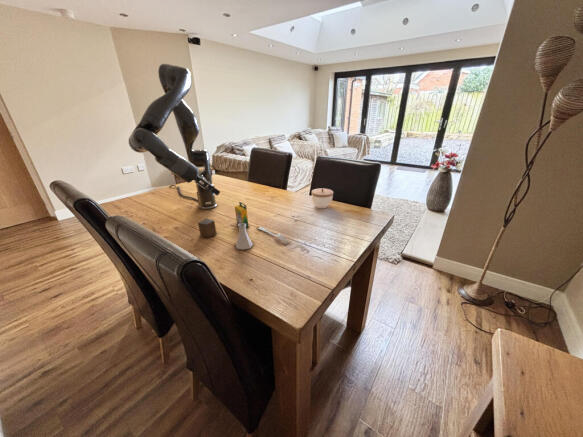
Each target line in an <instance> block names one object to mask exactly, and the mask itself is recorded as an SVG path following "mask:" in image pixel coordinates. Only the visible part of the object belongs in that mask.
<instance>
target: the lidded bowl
mask: <svg viewBox="0 0 583 437" xmlns="http://www.w3.org/2000/svg"><path fill="white" fill-rule="evenodd" d="M333 198H334V191H333V190H332V189H330V188H323V187H322V188H315V189H312V190H311V202H312V204H313V205H314V206H315V207H316V208H317V209H327V208H328V207H329V206H330V205H331V203H332V201H333Z"/></svg>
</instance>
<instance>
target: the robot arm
mask: <svg viewBox="0 0 583 437" xmlns="http://www.w3.org/2000/svg"><path fill="white" fill-rule="evenodd" d="M157 73H158V79H159V82H160V85H161V87H162V90H163V92H164V94H162V95H161V96H158V97H157V98H156V99H154V100H153V101H152V102H151V103H149V105H148V106H147V107H146V109H145V111H144V113H143V115H142V116H141V119H140V121H139V123H138V124H137V125H136V126H135V127H134V129H133V131H132V132H131V133H130V135H129V137H128V146H129V147H130V149H131V150H132V151H134V152H135V153H138V154H144V153H147V152H148V153H150V154H151V155H152V156H153V157H154V160H155V162H156V163H158V164H159V165H161V166H162V167H163V168H165V169H167V171H169V172H171V173H172V174H173V175H175V176H177V177H178V178H180V179H181V180H183V181H185V182H186V183H187V184H189V183H192V182H194V183H195V186H196V196H197V198H195V197H192V196H187V195H184V194H182V193H181V190H180V189H181V188H180V187H179V186H177V185H176V184H170V185H169V188H171V187H175V188H177V189H178V190H177V191H178V194H179V195H180V196H181V197H183V198H187V199H191V200H193V201H195V202H198V207H199V208H200V209H202V210H211V209H215V208H216V207H217V201H216V196H219V195H220V194H221V191H220V190H219V189H218V188H216V186H215V185H214V183H213V182H214V180H213V176H212V169H211V161H210V153H209V151H208V150H207V149H193V147H194V144H195V142H196V140H197V138H198V136H199V133H200V127H199V122H198V120H197V116H196V115H195V113H194V112H193V111H192V109H191V108H190V107H189V105H187V103H186V102H185V101H184V98H185V97H186V96H187V94H188V93H189V92H190V90H191V88H192V86H193V85H192V84H193V79H192V75H191V72H190V71H189V69H188V68H186V67H183V66H179V65H174V64H169V63H161V64H160V65H159V67H158V72H157ZM171 113H172V114H173V117H174V120H175V123H176V127H177V129H178V131H179V135H180V137H181V139H182V142H183V146H184V149H185V153H186V158H187V159H186V158H185V157H183V156H181V155H180V154H178V153H177V152H175V151H174V150H173V149H171V148H170V147H169V146H167V145H166V143H165V142H164V141H163V140H162V139H161V138H160V137H159V136H158V134H159V133H160V132H161V131H162V130H163V128H164V125H165V124H166V122H167V121H168V118H169V117H170V115H171ZM199 168H204V169H202V170H201V171H200V169H199ZM176 186H177V187H176Z"/></svg>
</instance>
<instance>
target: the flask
mask: <svg viewBox="0 0 583 437" xmlns="http://www.w3.org/2000/svg"><path fill="white" fill-rule="evenodd" d="M245 226H246V224H245V223H240V224H239V225H238V224H237V227H238V236H237V240H236V243H235V247H236V249H237V250H243V251H244V250H249V249H251V248H252V247H253V245H254V244H253V242H252V240H251V238H250V236H249V234H248V232H247V228H246V227H245Z"/></svg>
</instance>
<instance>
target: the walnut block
mask: <svg viewBox="0 0 583 437" xmlns="http://www.w3.org/2000/svg"><path fill="white" fill-rule="evenodd" d="M197 224H198V229H199V234H200V237H203V238H206V239H210V238H212V237H213V236H216V235H217V229H216V223H215V220H214V219H210V218H204V219H202V220H200V221H198V222H197Z"/></svg>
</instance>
